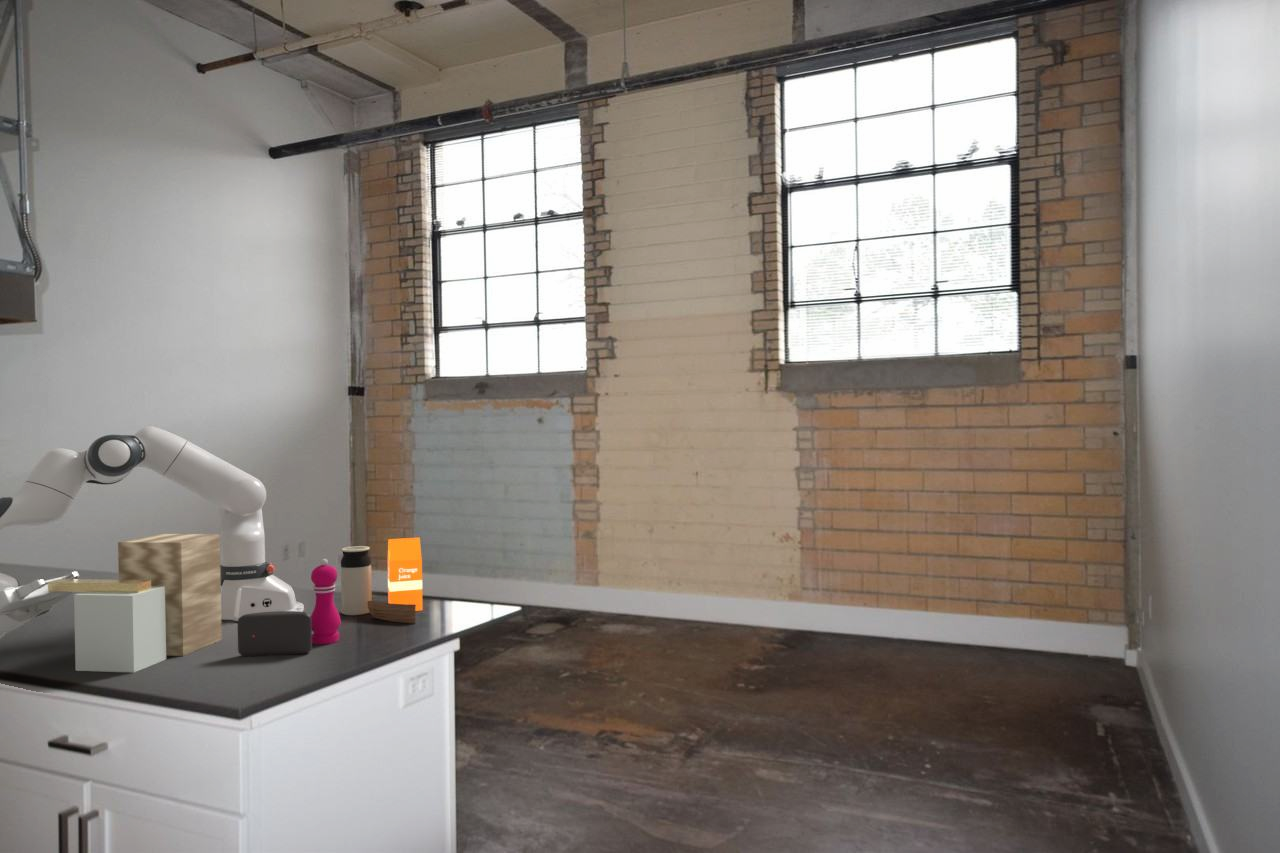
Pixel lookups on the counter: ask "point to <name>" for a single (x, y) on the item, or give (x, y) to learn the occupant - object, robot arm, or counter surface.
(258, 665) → the counter surface
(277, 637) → the red-dot charcoal block
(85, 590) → the tan long flat block
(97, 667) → the pale grey block
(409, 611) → the wood plank
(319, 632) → the pepper mill
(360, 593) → the travel mug
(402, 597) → the orange juice
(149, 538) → the oak pedestal
